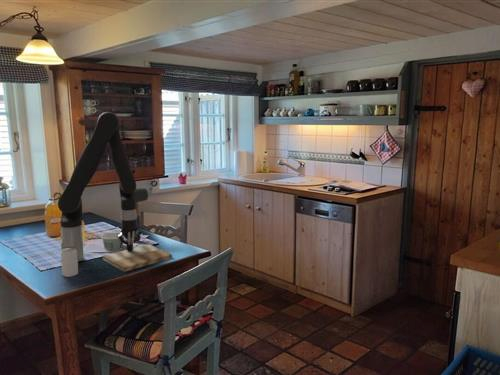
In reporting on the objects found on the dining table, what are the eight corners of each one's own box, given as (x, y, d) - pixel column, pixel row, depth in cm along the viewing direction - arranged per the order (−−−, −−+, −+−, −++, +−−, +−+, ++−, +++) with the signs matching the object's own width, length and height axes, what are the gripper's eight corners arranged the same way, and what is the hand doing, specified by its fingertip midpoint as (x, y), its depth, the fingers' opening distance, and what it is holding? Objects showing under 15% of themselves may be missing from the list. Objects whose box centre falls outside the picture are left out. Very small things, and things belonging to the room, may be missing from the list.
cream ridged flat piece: (113, 265, 191) (113, 261, 191) (102, 259, 198) (102, 255, 198) (160, 252, 210) (160, 249, 209) (149, 247, 217) (149, 244, 216)
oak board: (124, 271, 184) (124, 267, 184) (113, 265, 191) (113, 261, 191) (172, 258, 203) (172, 254, 202) (160, 253, 210) (160, 249, 209)
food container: (129, 244, 222) (128, 232, 221) (119, 251, 211) (119, 239, 210) (107, 243, 224) (107, 231, 222) (97, 250, 212) (97, 238, 211)
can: (65, 271, 183) (63, 246, 181) (80, 271, 184) (78, 246, 182) (60, 277, 177) (58, 250, 175) (75, 277, 177) (73, 250, 175)
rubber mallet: (128, 245, 220) (127, 190, 215) (123, 241, 226) (121, 188, 221) (150, 241, 228) (148, 188, 223) (144, 238, 234) (142, 186, 228)
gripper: (120, 221, 195) (121, 256, 198) (144, 217, 204) (145, 250, 207) (112, 218, 200) (114, 252, 203) (136, 214, 209) (137, 246, 213)
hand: (129, 251), depth 205 cm, fingers closed
